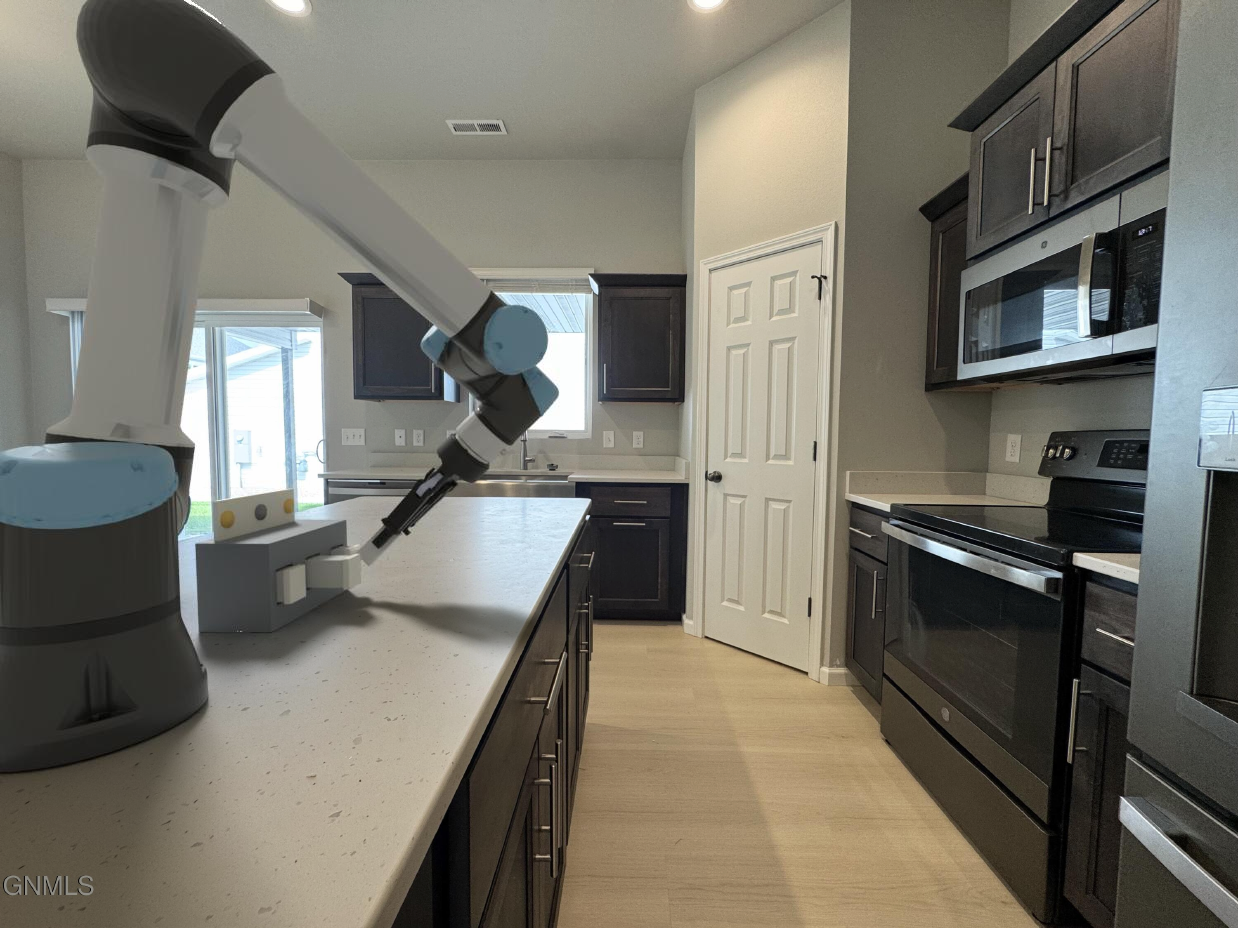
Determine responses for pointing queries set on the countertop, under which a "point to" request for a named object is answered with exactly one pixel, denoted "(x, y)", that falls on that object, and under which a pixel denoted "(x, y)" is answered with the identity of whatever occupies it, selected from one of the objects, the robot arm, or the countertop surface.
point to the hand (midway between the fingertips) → (364, 558)
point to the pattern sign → (252, 513)
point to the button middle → (333, 571)
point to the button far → (345, 550)
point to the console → (260, 575)
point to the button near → (290, 583)
